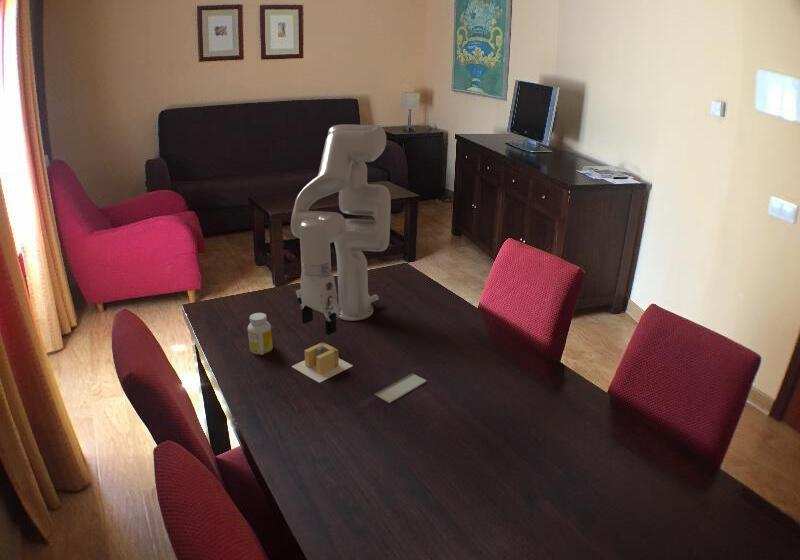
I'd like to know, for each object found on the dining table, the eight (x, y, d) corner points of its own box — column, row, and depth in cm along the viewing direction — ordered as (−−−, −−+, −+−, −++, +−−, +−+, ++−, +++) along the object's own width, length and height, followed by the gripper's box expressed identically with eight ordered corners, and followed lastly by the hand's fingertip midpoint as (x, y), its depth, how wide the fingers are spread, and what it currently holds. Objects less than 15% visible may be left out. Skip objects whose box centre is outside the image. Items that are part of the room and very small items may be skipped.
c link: (323, 357, 181) (322, 341, 179) (338, 365, 176) (338, 349, 174) (305, 366, 176) (304, 350, 174) (320, 374, 172) (319, 358, 170)
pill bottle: (275, 347, 188) (272, 311, 184) (269, 358, 182) (266, 321, 178) (254, 346, 189) (250, 310, 184) (247, 357, 183) (243, 320, 178)
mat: (389, 363, 180) (389, 361, 180) (426, 381, 171) (426, 380, 171) (351, 382, 170) (351, 381, 170) (389, 403, 161) (389, 401, 161)
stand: (325, 353, 185) (323, 333, 182) (353, 368, 177) (352, 348, 174) (291, 369, 177) (289, 348, 174) (319, 385, 169) (318, 364, 166)
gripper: (349, 272, 162) (351, 333, 168) (306, 256, 173) (309, 313, 179) (326, 279, 157) (329, 342, 163) (284, 262, 168) (288, 322, 174)
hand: (319, 327), depth 171 cm, fingers open, 9 cm apart
